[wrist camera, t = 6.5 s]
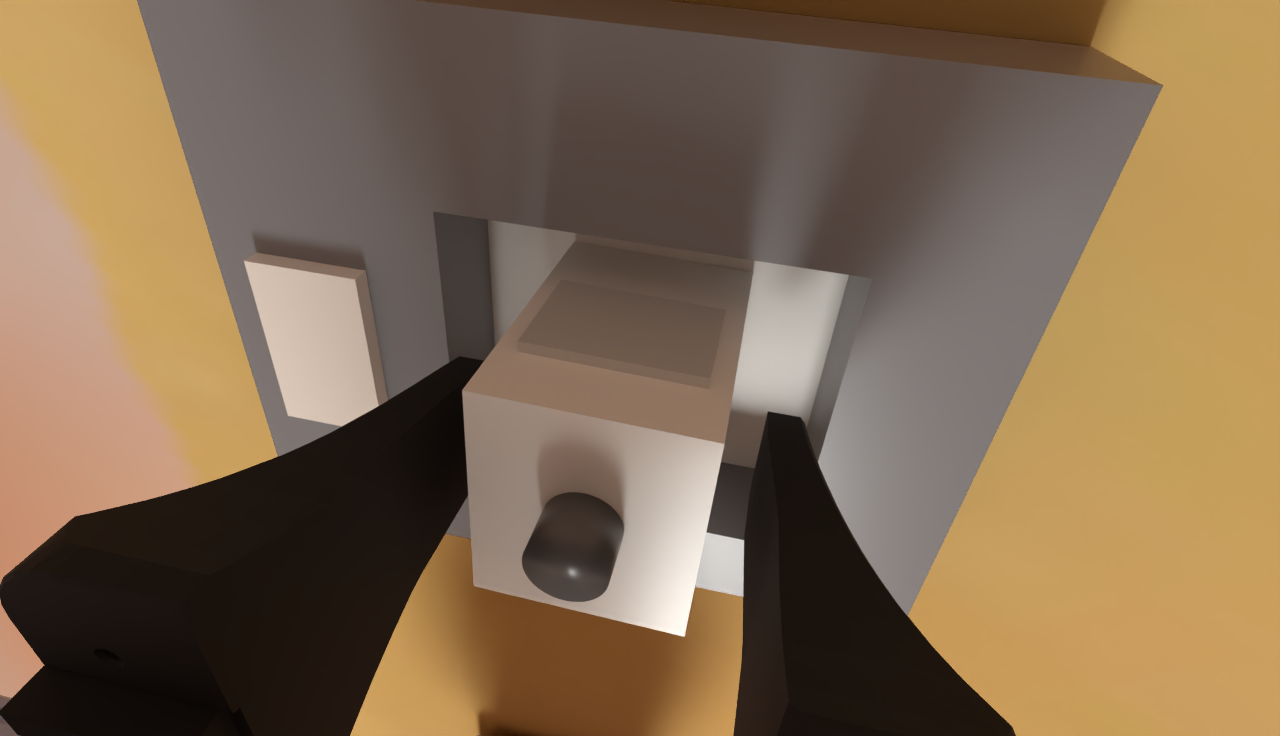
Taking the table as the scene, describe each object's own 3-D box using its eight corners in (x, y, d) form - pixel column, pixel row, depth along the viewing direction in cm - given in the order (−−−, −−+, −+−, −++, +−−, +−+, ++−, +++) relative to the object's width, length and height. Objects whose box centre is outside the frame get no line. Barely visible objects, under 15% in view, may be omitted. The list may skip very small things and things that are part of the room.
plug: (720, 434, 17) (675, 687, 12) (567, 403, 18) (450, 630, 12) (755, 264, 15) (718, 479, 9) (574, 232, 15) (431, 418, 10)
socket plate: (888, 536, 19) (902, 644, 16) (351, 431, 21) (282, 511, 18) (1090, 46, 12) (1175, 92, 9) (246, -46, 14) (107, -31, 11)
